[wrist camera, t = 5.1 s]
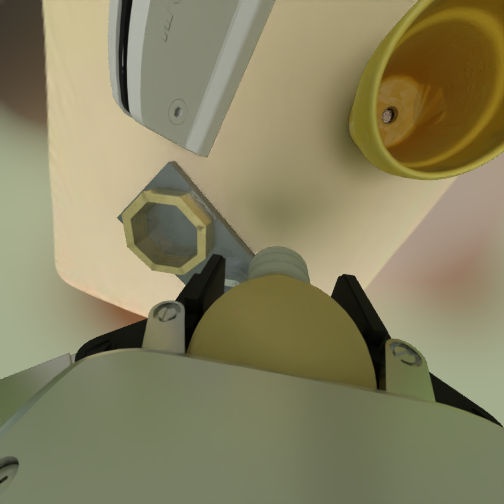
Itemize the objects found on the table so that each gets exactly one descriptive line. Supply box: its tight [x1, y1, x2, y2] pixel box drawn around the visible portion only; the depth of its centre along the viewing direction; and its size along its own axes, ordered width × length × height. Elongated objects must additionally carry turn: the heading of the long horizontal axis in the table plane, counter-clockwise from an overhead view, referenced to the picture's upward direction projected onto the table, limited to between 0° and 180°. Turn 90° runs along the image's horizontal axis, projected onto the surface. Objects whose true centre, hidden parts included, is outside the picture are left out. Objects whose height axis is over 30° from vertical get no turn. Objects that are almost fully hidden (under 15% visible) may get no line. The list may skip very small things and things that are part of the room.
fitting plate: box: [117, 161, 255, 294], centre depth 27 cm, size 11×22×4 cm, turn 39°
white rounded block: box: [108, 0, 275, 157], centre depth 17 cm, size 17×5×10 cm, turn 149°
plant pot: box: [349, 0, 504, 180], centre depth 16 cm, size 10×10×10 cm
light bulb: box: [186, 247, 377, 389], centre depth 9 cm, size 6×6×10 cm
